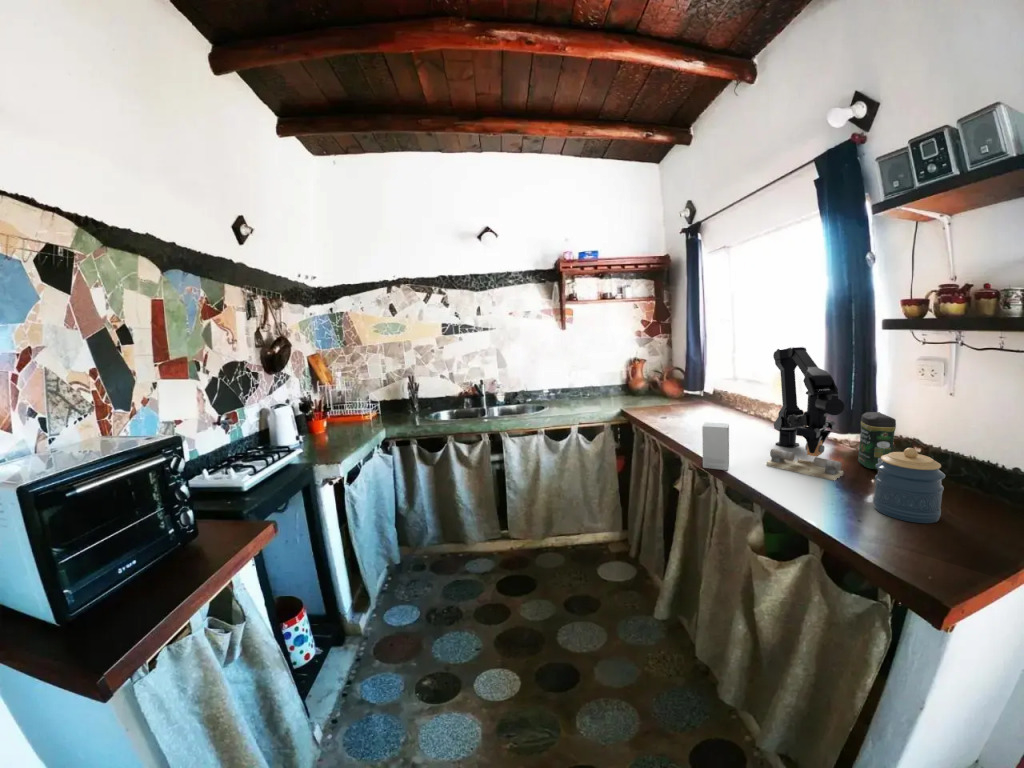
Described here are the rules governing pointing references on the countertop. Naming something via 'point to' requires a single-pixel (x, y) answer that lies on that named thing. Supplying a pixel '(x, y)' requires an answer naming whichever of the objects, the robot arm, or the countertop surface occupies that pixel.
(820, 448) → the coupling
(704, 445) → the skincare box
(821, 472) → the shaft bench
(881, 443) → the coffee jar
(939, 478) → the canister
